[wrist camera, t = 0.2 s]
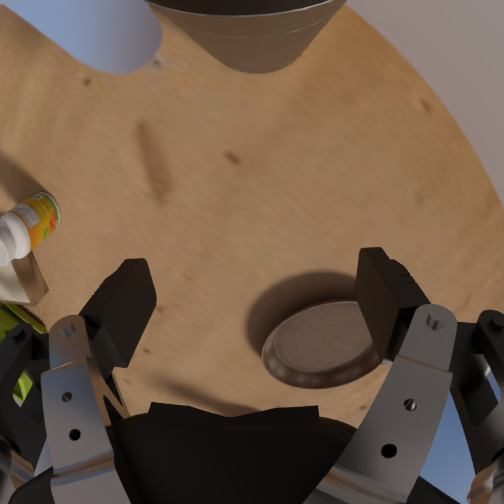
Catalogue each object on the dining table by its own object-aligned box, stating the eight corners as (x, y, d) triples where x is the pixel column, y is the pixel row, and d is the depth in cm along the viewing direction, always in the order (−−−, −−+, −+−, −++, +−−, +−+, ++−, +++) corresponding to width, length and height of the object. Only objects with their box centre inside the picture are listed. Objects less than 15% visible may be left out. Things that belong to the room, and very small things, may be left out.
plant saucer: (357, 377, 41) (361, 392, 38) (250, 369, 40) (250, 385, 37) (410, 294, 32) (419, 309, 30) (279, 273, 31) (280, 290, 29)
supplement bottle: (50, 238, 30) (6, 280, 22) (27, 209, 28) (-22, 245, 19) (68, 214, 28) (17, 255, 20) (42, 182, 26) (-12, 215, 18)
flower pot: (57, 327, 39) (22, 382, 28) (53, 361, 45) (28, 407, 33) (1, 283, 35) (-39, 328, 24) (4, 324, 41) (-25, 365, 30)
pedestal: (-9, 236, 30) (-25, 249, 26) (24, 230, 29) (5, 245, 26) (14, 288, 35) (0, 303, 31) (48, 290, 34) (34, 307, 31)
